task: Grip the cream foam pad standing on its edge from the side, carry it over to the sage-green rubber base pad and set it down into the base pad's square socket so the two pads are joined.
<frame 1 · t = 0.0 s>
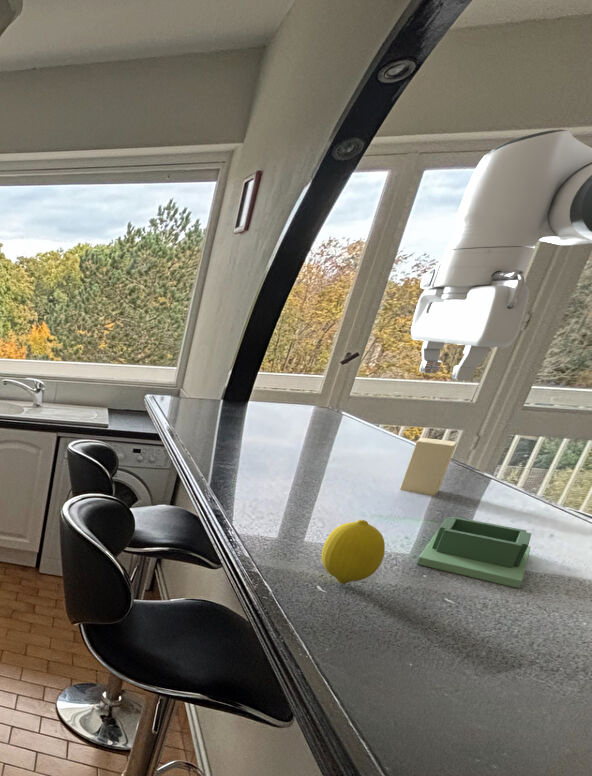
hand: (443, 376, 86), 21 cm above the countertop, tool pointing down, fingers open, 8 cm apart
base pad: (473, 558, 77), on the countertop
lemon: (341, 584, 70), on the countertop
cream pad: (415, 499, 100), on the countertop
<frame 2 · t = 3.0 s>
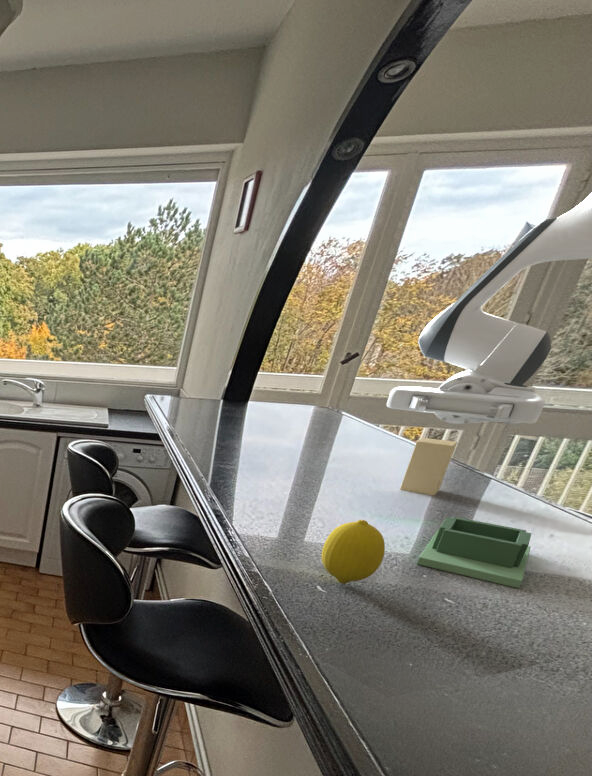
hand: (456, 409, 102), 14 cm above the countertop, tool horizontal, fingers open, 8 cm apart
nothing on the countertop moved.
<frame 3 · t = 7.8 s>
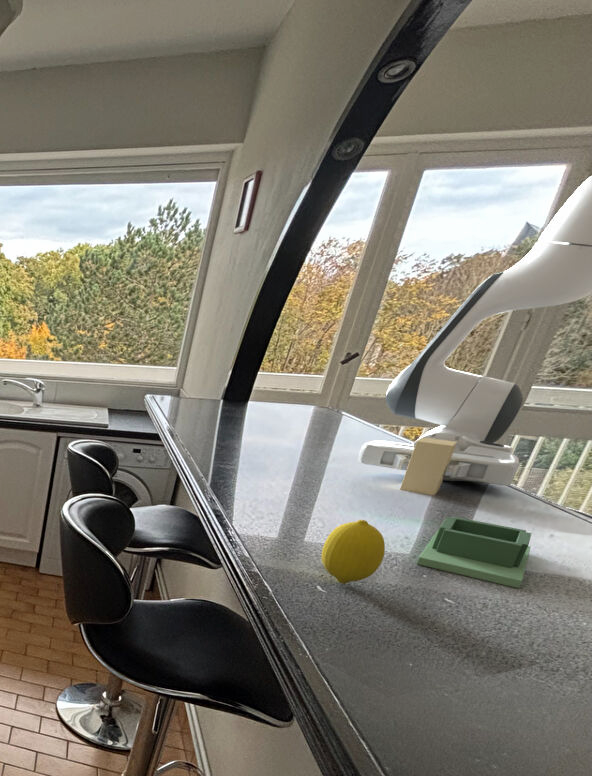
hand: (426, 468, 98), 6 cm above the countertop, tool horizontal, fingers closed on cream pad, 4 cm apart
cream pad: (415, 499, 100), on the countertop, touching gripper
everything else where it was.
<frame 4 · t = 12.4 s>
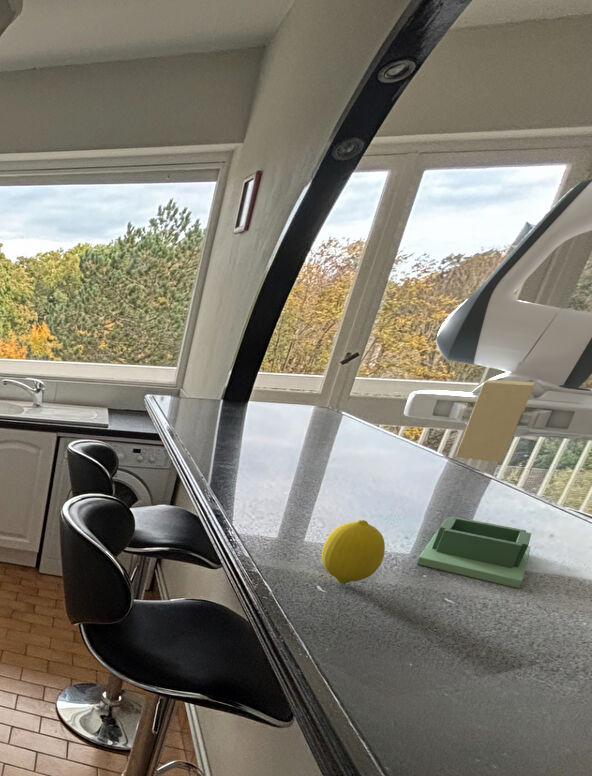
hand: (495, 417, 78), 17 cm above the countertop, tool horizontal, fingers closed on cream pad, 4 cm apart
cream pad: (479, 456, 81), point 11 cm above the countertop, touching gripper
everything else where it was.
when the fingers open (6 cm above the countertop, at t = 17.0 s): cream pad stays where it is, resting on base pad.
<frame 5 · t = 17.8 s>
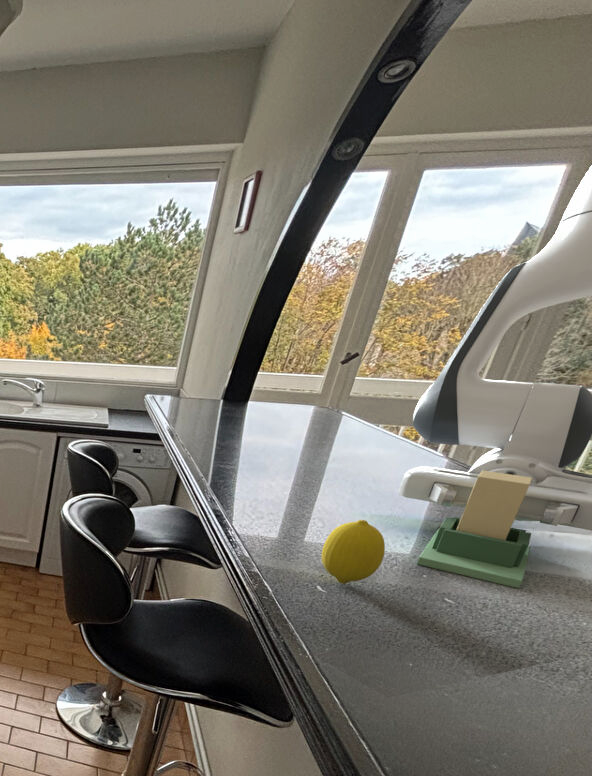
hand: (495, 508, 74), 7 cm above the countertop, tool horizontal, fingers open, 8 cm apart
cream pad: (473, 551, 77), point 1 cm above the countertop, touching base pad
everything else where it was.
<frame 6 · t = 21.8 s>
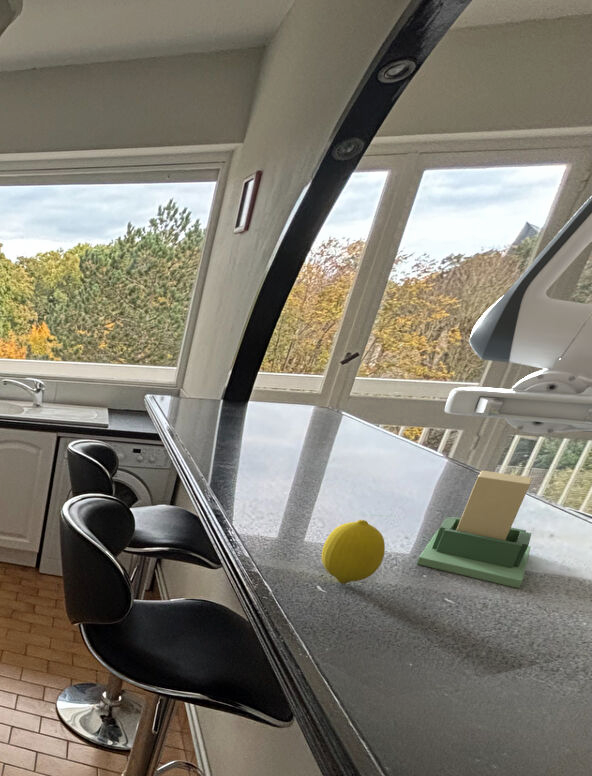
hand: (541, 412, 79), 17 cm above the countertop, tool horizontal, fingers open, 8 cm apart
nothing on the countertop moved.
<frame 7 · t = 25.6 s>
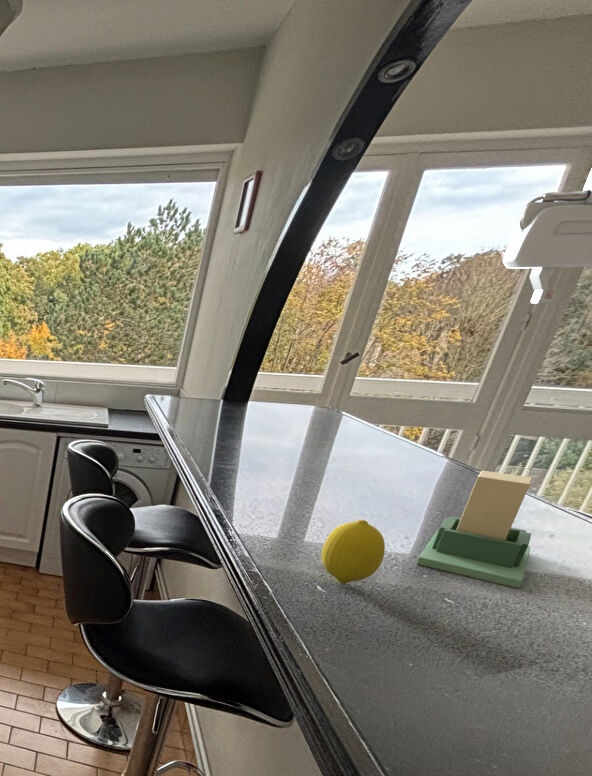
hand: (584, 303, 81), 31 cm above the countertop, tool pointing down, fingers open, 8 cm apart
nothing on the countertop moved.
at the end: cream pad 0.2 cm off-centre on the base pad, point 1.0 cm above the base pad's base; cream pad tilted 0°; cream pad touching base pad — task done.
